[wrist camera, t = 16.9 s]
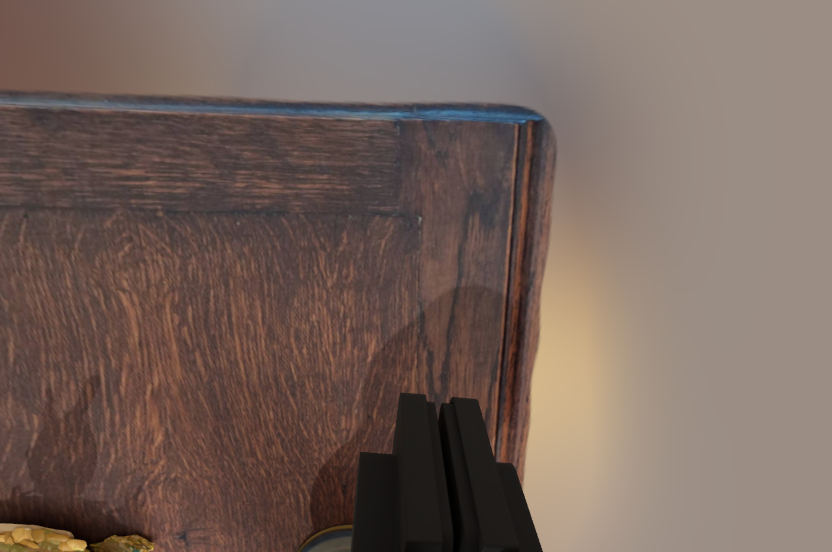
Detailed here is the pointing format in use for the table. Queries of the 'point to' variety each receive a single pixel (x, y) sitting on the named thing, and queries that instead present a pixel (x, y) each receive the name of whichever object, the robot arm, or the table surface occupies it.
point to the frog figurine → (63, 541)
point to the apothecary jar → (330, 540)
